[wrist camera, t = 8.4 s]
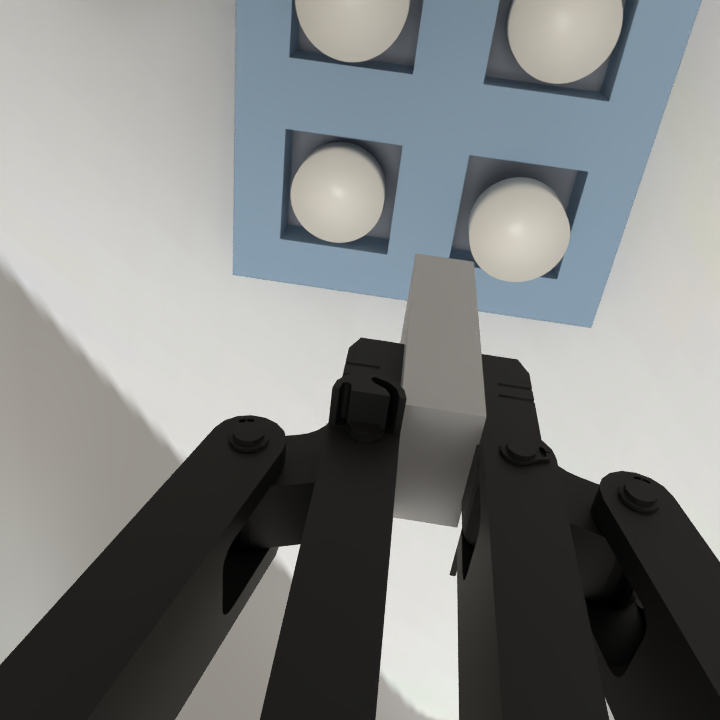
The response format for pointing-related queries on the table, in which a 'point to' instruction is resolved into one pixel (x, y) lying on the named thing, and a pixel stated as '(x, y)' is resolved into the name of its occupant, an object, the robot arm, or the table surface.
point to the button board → (446, 145)
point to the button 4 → (563, 36)
